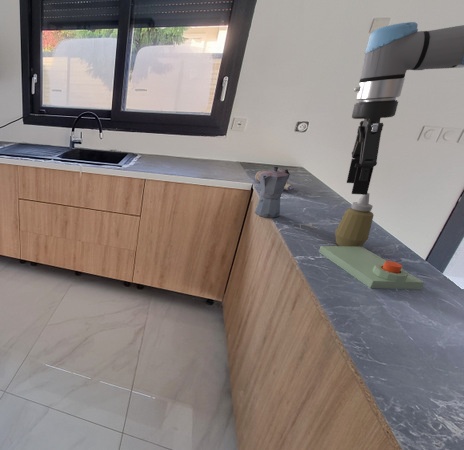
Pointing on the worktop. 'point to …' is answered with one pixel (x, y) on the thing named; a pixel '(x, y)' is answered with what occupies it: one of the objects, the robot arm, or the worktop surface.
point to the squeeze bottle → (355, 224)
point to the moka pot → (271, 192)
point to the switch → (392, 267)
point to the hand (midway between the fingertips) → (355, 188)
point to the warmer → (369, 268)
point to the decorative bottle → (287, 186)
